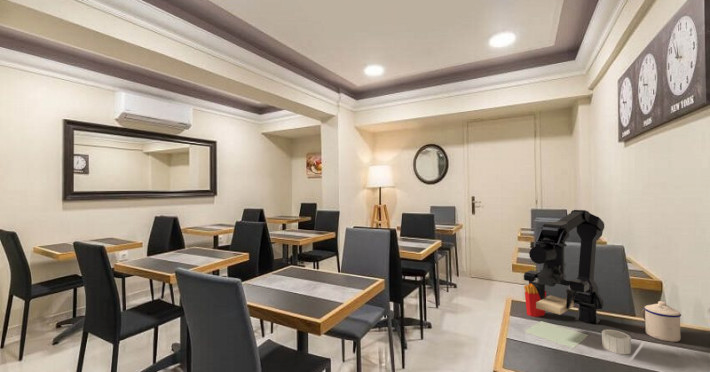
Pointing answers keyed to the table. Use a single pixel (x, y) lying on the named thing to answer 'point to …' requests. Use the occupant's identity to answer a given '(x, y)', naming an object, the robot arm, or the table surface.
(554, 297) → the beige flat block
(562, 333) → the mat
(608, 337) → the bowl
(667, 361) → the table surface
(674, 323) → the teacup with lid
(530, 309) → the french fries
